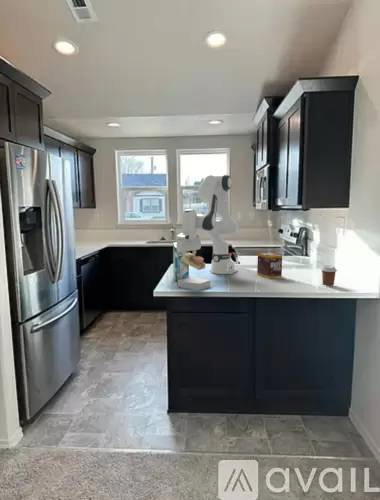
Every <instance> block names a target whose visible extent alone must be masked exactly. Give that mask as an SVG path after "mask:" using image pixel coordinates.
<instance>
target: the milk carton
mask: <svg viewBox="0 0 380 500" xmlns="http://www.w3.org/2000/svg"><path fill="white" fill-rule="evenodd" d="M172 253H173V254H172V261H173V262H172V267H173V269H172V270H173V280H174V281H175V282H178V280H181V279H185V278H188V277H190V271H189V270H190V265H188V264H186V263H184V262H182V261H180V259H181V258H182V256H183V254H182V252H177V249H176V242H172ZM186 253H190V251H186Z"/></svg>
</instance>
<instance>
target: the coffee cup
mask: <svg viewBox="0 0 380 500" xmlns="http://www.w3.org/2000/svg"><path fill="white" fill-rule="evenodd" d="M320 271H321V273H322V274H321V276H322V286H323V285H326V286H333V285H335V279H336V273H337V271H338V269H337V268H336V266H334V265H324V266H323V265H322V268H320ZM326 286H325V287H326ZM333 287H334V286H333Z"/></svg>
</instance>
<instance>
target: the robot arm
mask: <svg viewBox="0 0 380 500" xmlns="http://www.w3.org/2000/svg"><path fill="white" fill-rule="evenodd" d="M232 185H233V180H232V177H231V176H230V175H228V174H206V175H204V176H203V177H202V178H201V180H200V184H199V187H198V190H197V195H198V198H199V199H200V200H201V201H202V202H203V203H204V204H205V203H206V204H208V205H209V207H208V212H207V213H206V214H199V213H197V212H196V209H194V208H188V209H187V208H186V209H184V210H183V212H182V216H181V225H182V229H181V233H179V234H177V235H176V237H175V238H176V242H175V243H176V249H177V252H182V254H183V258H184V259H187V256H186V254H185V253H186V251H189V252H190V251H192V253H191V254H193V255H195V256H196V254H197V251H198V250H201V247H202V241H201V237H200V235H199V234H197V230H198V231H200V230H201V231H203V232H204V233H205V234H206V235H207V236H208V237H209V238H210V240H211V242H212V259H211V264H210V265H211V266H210V269H209V272H210V273H212V274H216V275H232V274H234V273H235V272H237V271H238V268H236V267H235V266H236V265H235V262H234V261H233V260H232V259H231V258H230V257H231V256H232V253H229V243H228V242H227V240H225V239H223V238H222V237H221V236H231V235H236V234H237V233H238V231H239V230H240V229H239V228H240V226H239V224H238V221H236V220H235V219H234V218H233V217H232V215H231V213H230V206H229V205H230V203H229V202H230V201H229V196H230V195H229V190H230V189H231V188H232ZM217 216H220V217H221V219H216V218H217Z"/></svg>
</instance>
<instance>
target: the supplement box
mask: <svg viewBox="0 0 380 500" xmlns="http://www.w3.org/2000/svg"><path fill="white" fill-rule="evenodd" d="M256 265H257V270H256V271H257V273H256V275H258V276H261V277H262V278H263V277H264V278H267V279H269V278H270V279H277V278H276V277H280V278H282V277H283V276H282V274H283V273H282V272H283V271H282V270H283V255H282V254H278V253H274V252H260V253H257V264H256Z"/></svg>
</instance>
